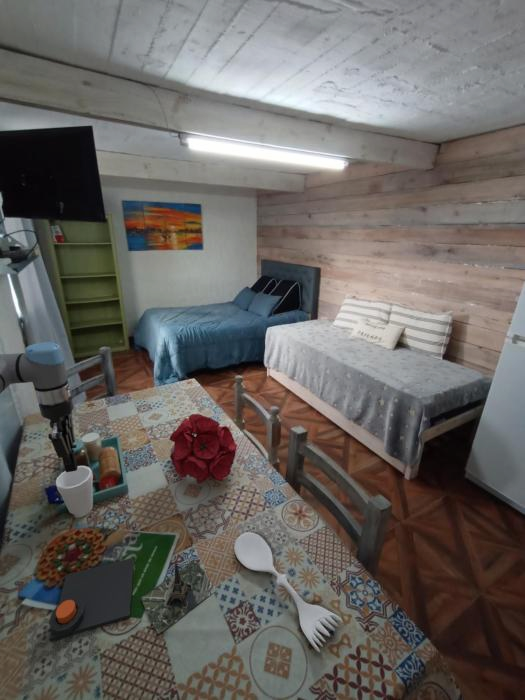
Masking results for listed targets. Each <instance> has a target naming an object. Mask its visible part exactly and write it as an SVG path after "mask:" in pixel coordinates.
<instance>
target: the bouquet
mask: <svg viewBox="0 0 525 700" xmlns="http://www.w3.org/2000/svg"><path fill="white" fill-rule="evenodd" d="M220 424H221V423H220V422H218V421H217V420H215V419H214V418H212V417H208V416H206V415H203V414H199V413H193V414H190V415H189V417H188V418H187V417H186V418H184V419H183V420H182V421H181V422H180V425H179V426H177V428H176V429H175V430H174V431H173V432H172V433H171V434H170V435H169V438H168V440H169V441H171V442H172V443H174V444H173V445H172V447H170V456H169V458H170V459H171V462H172V465H173V468H174V469H175V472H176V474H177V475H179V477H180V478H179V479H184V478H186V477H187V476H189V477H191V478H193V479H196V483H197V485H201V484H202V483H203V482H206V481H207V480H209V479H211V478H212V479H213V480H215V481H217V482H218V481H219V482H222V481H223V480H224V479H226V478H227V477H229V476H230V475H231V473H232V466H233V465H234V463H235V462H234V461H235V458H236V452H237V448H238V445H237V444H236V441H235V439H234V437H233V434H232V432H231V429H230V428H229V427H228V426H226V425H224V426H223V425H221V426H220Z"/></svg>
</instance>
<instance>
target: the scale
mask: <svg viewBox="0 0 525 700" xmlns="http://www.w3.org/2000/svg"><path fill="white" fill-rule="evenodd" d="M134 573H135V557H131V558H127V559H122V560H119V561H114V562H111V563H106V564H102V565H99V566H95V567H89V568H86V569H83V570H82V569H81V570H77V571H75V572H70V573H66V574H65V577H64V581H63V586H62V589H61V593H60V597H59V600H58V604H57V606H56V607H55V609H54V610H53V611H52V612H51V614H50V617H49V622H48V624H49V628H50V634H49V638H48V640H49V642H54V641H55V642H56V641H58V640H62V639H65V638H67V637H72V636H75V635H79V634H81V633H85V632H87V631H91V630H92V631H93V630H94V629H99V628H102V627H105V626H108V625H112V624H116V623H118V622H119V623H120V622H121V621H125V620H128V619H131V615H132V614H131V613H132V600H133V598H132V597H133V585H134ZM67 600H73V601H74V603H75V606H76V614H75V616H74V617H73V619H72V620H71V621H69V622H68V623H65V624H60V623H59V622H58V619H57V616H56V610H57V608H58V607H59V605H60V604H62V603H63V602H64V601H67Z"/></svg>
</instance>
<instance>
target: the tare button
mask: <svg viewBox="0 0 525 700" xmlns="http://www.w3.org/2000/svg"><path fill="white" fill-rule="evenodd" d="M75 614H76V606H75V603H74V601H73V600H67V601H64V602H63V603H62V604H60V605H59V607H58V608H57V610H56V616H57V619H58V622H59V623H60V624H65V623H68V622H69V621H71V620H72V619H73V617H74V616H75Z"/></svg>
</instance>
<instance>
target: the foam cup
mask: <svg viewBox="0 0 525 700" xmlns="http://www.w3.org/2000/svg"><path fill="white" fill-rule="evenodd" d="M77 467H78V468H77V470H76V471H72V472H66V470H64V471H63V472H61V473H60V474H59V475H58V476H57V477H56V480H55V486H56V489H57V491H58V493H59V494H60V496H61V499H62V501H63V502H64V504H65V507H66V509H67V511H68V513H69V514H72V517H73V518H75V519H77V518H83V517H85V516H86V515H88V514H89V513H90V512H92V510H93V506H94V491H93V490H94V487H93V485H94V484H93V479H94V474H93V470H92V469H91V468H90V467H89V466H86V465H77Z"/></svg>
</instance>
